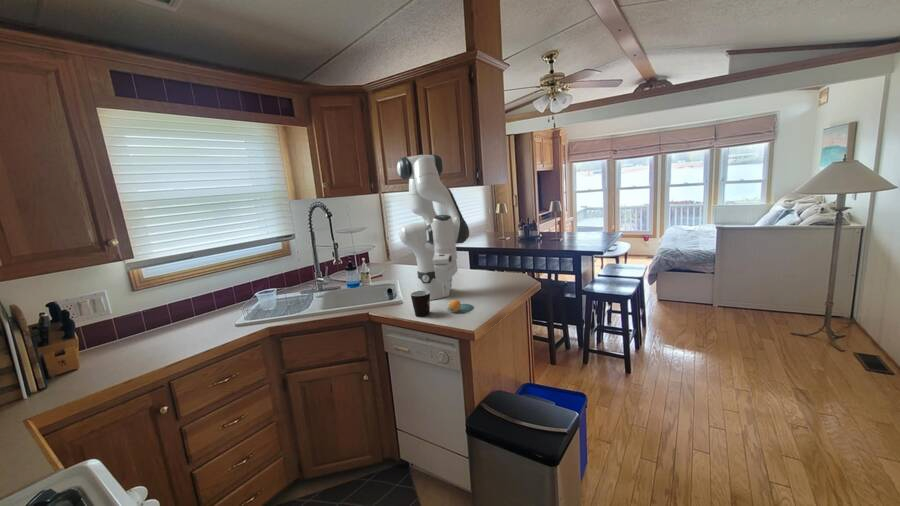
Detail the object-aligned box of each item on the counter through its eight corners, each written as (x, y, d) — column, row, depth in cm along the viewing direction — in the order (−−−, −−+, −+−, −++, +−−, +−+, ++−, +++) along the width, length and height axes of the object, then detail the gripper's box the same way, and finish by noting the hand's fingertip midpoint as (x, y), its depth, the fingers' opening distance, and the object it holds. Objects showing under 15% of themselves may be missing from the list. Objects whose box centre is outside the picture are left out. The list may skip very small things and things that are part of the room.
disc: (451, 304, 175) (451, 303, 175) (475, 304, 172) (475, 303, 172) (444, 312, 163) (444, 312, 163) (470, 312, 160) (470, 312, 160)
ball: (447, 298, 163) (449, 307, 159) (459, 296, 163) (461, 305, 159) (448, 306, 167) (450, 315, 163) (460, 304, 167) (462, 313, 163)
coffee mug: (423, 319, 158) (421, 296, 156) (408, 316, 163) (406, 294, 161) (440, 310, 167) (438, 289, 165) (425, 308, 172) (423, 288, 170)
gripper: (445, 251, 158) (448, 282, 161) (431, 260, 139) (434, 295, 141) (459, 250, 157) (461, 281, 159) (447, 260, 137) (450, 295, 139)
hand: (448, 288), depth 150 cm, fingers closed
